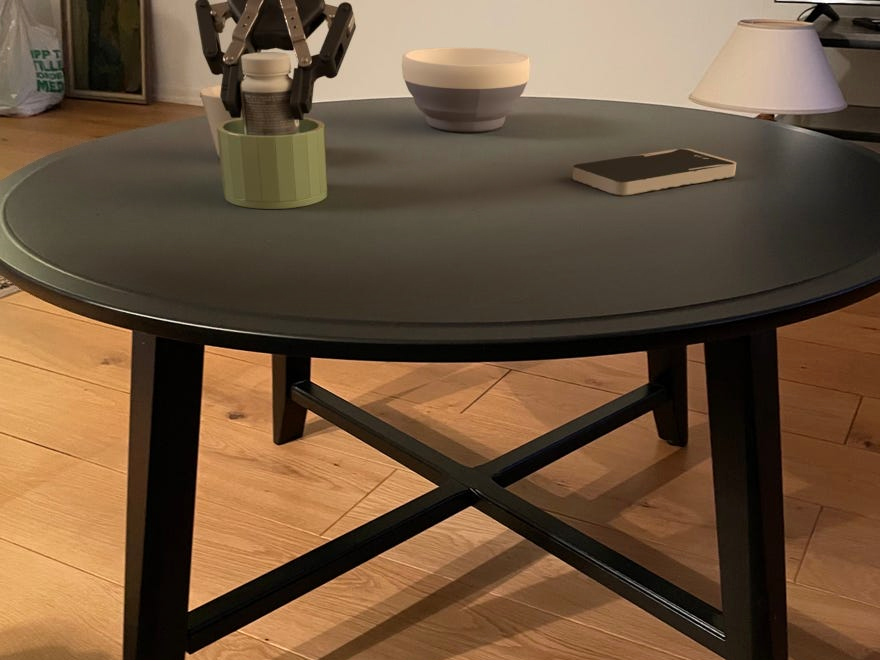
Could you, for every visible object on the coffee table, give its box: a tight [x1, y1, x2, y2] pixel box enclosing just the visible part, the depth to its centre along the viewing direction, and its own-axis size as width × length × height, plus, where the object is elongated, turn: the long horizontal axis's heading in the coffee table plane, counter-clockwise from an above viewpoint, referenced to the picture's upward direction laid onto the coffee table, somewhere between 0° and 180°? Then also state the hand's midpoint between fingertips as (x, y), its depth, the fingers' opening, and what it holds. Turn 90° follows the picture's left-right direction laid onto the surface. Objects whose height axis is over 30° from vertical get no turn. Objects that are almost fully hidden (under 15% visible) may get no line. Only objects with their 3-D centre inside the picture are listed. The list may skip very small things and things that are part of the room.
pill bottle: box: [240, 51, 300, 136], centre depth 88 cm, size 5×5×8 cm
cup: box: [217, 117, 329, 210], centre depth 90 cm, size 9×9×6 cm
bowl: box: [401, 47, 531, 134], centre depth 117 cm, size 14×14×8 cm
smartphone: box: [572, 148, 737, 197], centre depth 99 cm, size 8×1×15 cm
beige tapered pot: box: [199, 84, 243, 158], centre depth 102 cm, size 9×9×6 cm
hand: (265, 112), depth 86 cm, fingers closed on pill bottle, 4 cm apart
